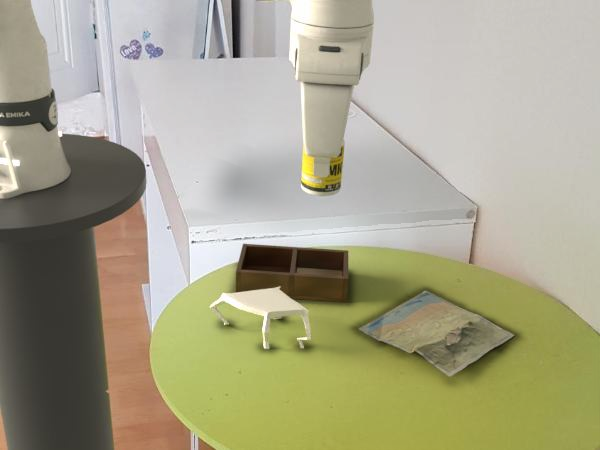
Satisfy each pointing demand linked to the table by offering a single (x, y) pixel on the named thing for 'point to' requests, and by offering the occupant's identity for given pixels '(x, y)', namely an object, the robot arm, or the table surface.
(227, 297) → the origami figure
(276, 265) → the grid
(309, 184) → the supplement bottle
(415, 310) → the topographic map
